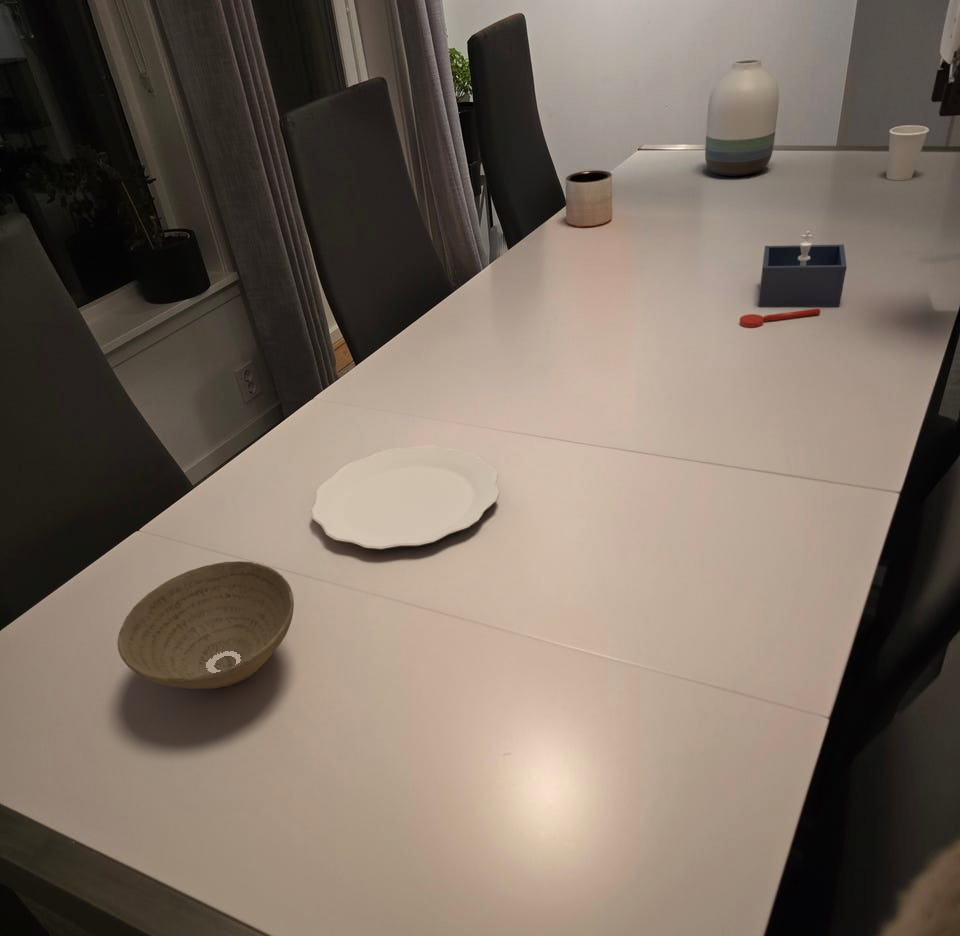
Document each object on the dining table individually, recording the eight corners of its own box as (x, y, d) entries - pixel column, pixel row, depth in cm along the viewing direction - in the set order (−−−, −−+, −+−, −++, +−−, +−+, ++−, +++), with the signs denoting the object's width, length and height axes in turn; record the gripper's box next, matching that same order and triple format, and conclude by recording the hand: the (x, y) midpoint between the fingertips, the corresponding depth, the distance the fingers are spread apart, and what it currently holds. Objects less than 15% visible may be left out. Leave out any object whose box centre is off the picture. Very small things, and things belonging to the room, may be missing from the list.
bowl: (111, 725, 86) (78, 670, 81) (187, 611, 99) (164, 557, 94) (277, 737, 82) (254, 680, 77) (333, 617, 96) (317, 561, 90)
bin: (836, 283, 155) (843, 244, 150) (839, 306, 147) (846, 266, 142) (760, 283, 158) (764, 245, 154) (758, 306, 150) (763, 267, 146)
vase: (758, 160, 224) (770, 52, 208) (780, 175, 211) (794, 61, 195) (696, 168, 224) (702, 61, 208) (713, 183, 211) (722, 70, 195)
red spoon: (815, 310, 147) (816, 304, 146) (824, 318, 144) (825, 312, 143) (736, 320, 147) (737, 314, 146) (743, 328, 144) (744, 323, 143)
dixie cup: (886, 183, 197) (896, 135, 190) (875, 174, 203) (884, 127, 197) (923, 179, 196) (934, 131, 190) (911, 171, 203) (921, 123, 196)
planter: (561, 228, 197) (560, 183, 190) (572, 214, 204) (571, 170, 198) (607, 227, 193) (607, 182, 187) (616, 213, 201) (616, 169, 194)
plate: (438, 577, 99) (436, 564, 98) (277, 535, 110) (273, 522, 109) (531, 473, 115) (530, 461, 114) (382, 445, 125) (380, 433, 124)
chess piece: (786, 285, 154) (794, 227, 148) (814, 285, 153) (823, 227, 146) (783, 294, 151) (792, 236, 144) (812, 295, 150) (822, 236, 143)
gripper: (1026, -41, 103) (984, 119, 114) (1002, -52, 115) (966, 94, 126) (959, -34, 105) (924, 123, 116) (942, -46, 117) (912, 97, 128)
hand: (946, 108), depth 121 cm, fingers open, 9 cm apart
